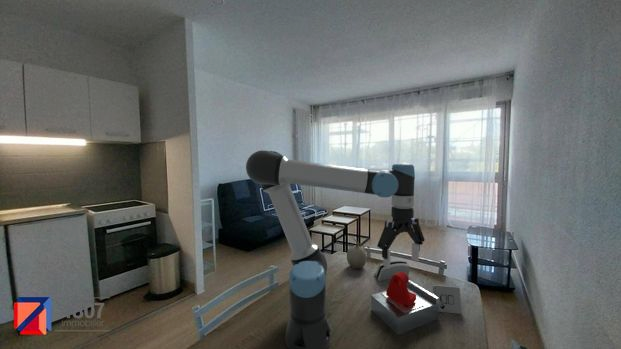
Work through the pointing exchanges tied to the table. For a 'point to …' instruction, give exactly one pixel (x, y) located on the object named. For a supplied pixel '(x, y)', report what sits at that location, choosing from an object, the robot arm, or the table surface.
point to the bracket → (400, 289)
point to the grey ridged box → (406, 309)
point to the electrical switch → (448, 298)
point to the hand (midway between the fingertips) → (401, 263)
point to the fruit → (356, 256)
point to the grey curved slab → (392, 269)
